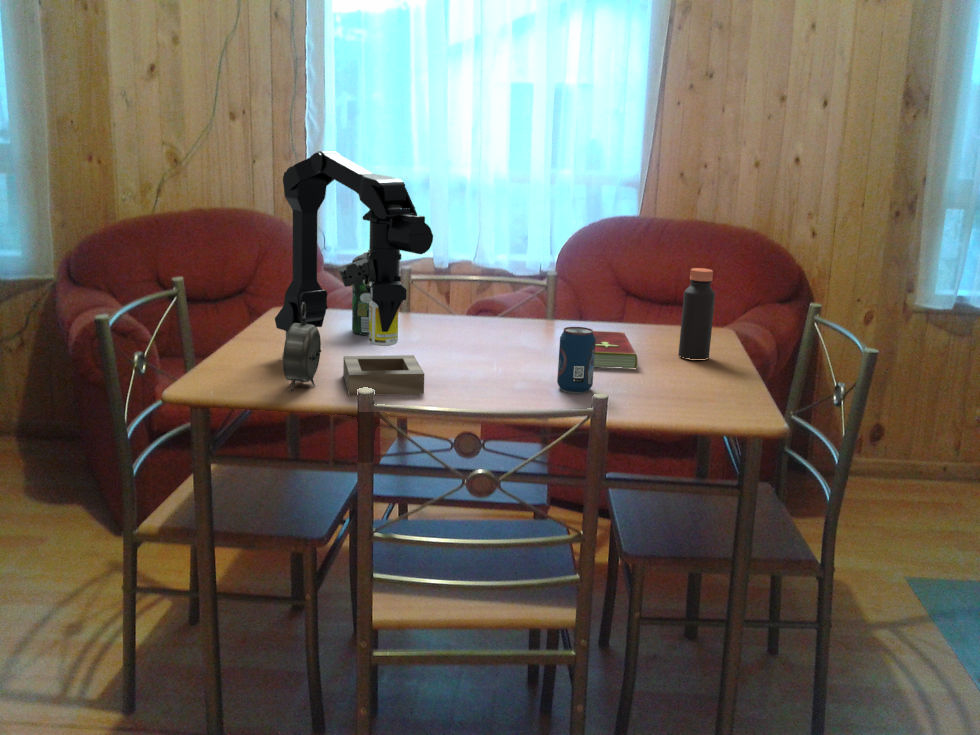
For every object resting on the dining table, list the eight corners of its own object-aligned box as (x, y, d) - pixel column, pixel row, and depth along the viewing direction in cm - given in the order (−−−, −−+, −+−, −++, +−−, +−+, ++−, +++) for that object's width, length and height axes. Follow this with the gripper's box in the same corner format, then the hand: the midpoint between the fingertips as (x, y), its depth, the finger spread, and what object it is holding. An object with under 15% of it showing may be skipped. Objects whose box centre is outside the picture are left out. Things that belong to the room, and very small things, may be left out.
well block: (343, 375, 201) (343, 356, 200) (413, 374, 204) (413, 355, 203) (349, 395, 188) (349, 374, 187) (423, 393, 191) (424, 373, 190)
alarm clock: (298, 377, 199) (297, 296, 194) (325, 379, 198) (325, 297, 194) (281, 392, 188) (280, 306, 184) (309, 394, 188) (309, 308, 183)
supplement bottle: (403, 344, 194) (405, 291, 192) (381, 348, 190) (382, 294, 188) (384, 338, 198) (385, 287, 195) (362, 342, 194) (363, 290, 191)
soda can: (554, 384, 202) (558, 325, 198) (589, 385, 202) (593, 326, 199) (559, 394, 195) (563, 333, 192) (594, 394, 195) (599, 334, 192)
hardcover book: (624, 348, 236) (625, 330, 235) (636, 372, 215) (638, 352, 214) (573, 346, 236) (574, 328, 235) (580, 369, 215) (581, 350, 214)
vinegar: (672, 355, 229) (679, 267, 224) (695, 353, 232) (704, 266, 227) (690, 362, 223) (699, 272, 218) (715, 360, 226) (724, 271, 221)
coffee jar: (356, 326, 245) (356, 249, 240) (388, 327, 244) (389, 251, 240) (348, 335, 235) (348, 255, 231) (382, 336, 235) (383, 257, 230)
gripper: (337, 239, 196) (337, 317, 200) (345, 254, 179) (344, 340, 183) (394, 239, 199) (393, 317, 203) (407, 255, 181) (405, 339, 185)
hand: (383, 328), depth 193 cm, fingers closed on supplement bottle, 5 cm apart
